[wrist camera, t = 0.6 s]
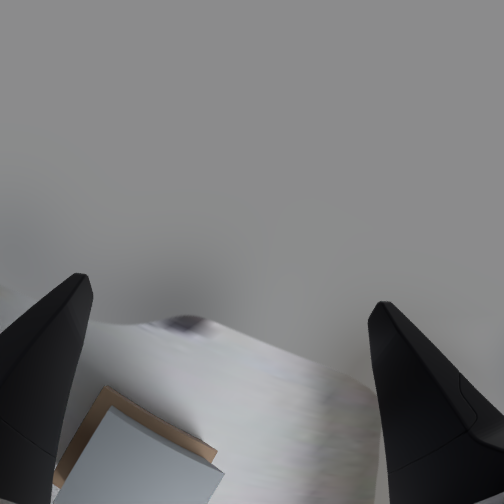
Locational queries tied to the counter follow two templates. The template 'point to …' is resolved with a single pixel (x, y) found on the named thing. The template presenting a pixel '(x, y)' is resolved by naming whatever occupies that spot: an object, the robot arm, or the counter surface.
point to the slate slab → (137, 468)
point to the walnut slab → (134, 412)
